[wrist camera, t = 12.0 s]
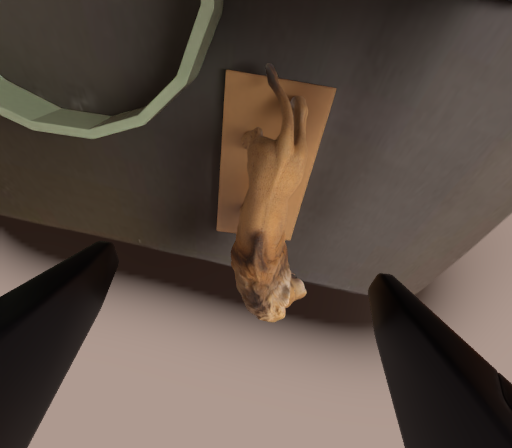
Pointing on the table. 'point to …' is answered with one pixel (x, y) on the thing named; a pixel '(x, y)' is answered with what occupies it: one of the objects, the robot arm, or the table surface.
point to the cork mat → (269, 120)
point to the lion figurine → (270, 210)
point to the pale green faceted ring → (96, 125)
